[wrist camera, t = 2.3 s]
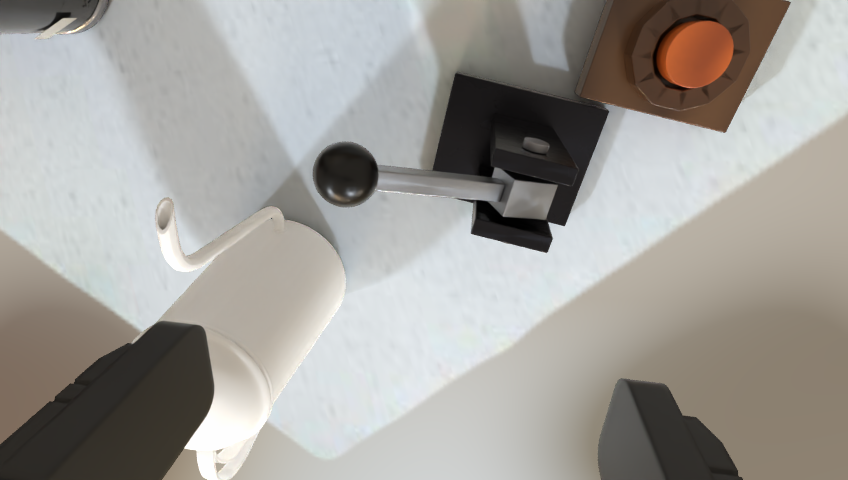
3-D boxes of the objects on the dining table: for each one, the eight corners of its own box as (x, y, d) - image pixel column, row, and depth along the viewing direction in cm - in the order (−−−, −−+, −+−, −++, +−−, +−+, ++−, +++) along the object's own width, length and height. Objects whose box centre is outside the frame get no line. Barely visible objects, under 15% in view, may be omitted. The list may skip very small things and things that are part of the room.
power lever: (306, 189, 25) (312, 216, 22) (313, 129, 23) (321, 150, 21) (519, 207, 29) (546, 231, 27) (536, 158, 28) (565, 178, 25)
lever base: (429, 186, 38) (405, 250, 27) (456, 71, 34) (442, 92, 23) (562, 220, 38) (592, 298, 27) (605, 108, 34) (659, 146, 23)
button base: (573, 92, 34) (584, 100, 30) (617, -34, 30) (635, -42, 27) (711, 126, 33) (738, 139, 30) (771, 3, 30) (810, 0, 26)
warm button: (646, 76, 29) (655, 79, 28) (671, 14, 28) (682, 13, 26) (702, 90, 29) (715, 94, 28) (731, 28, 28) (746, 29, 26)
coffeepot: (362, 140, 37) (255, 239, 20) (339, 383, 48) (257, 582, 31) (228, 116, 38) (14, 193, 21) (235, 362, 48) (99, 546, 31)
